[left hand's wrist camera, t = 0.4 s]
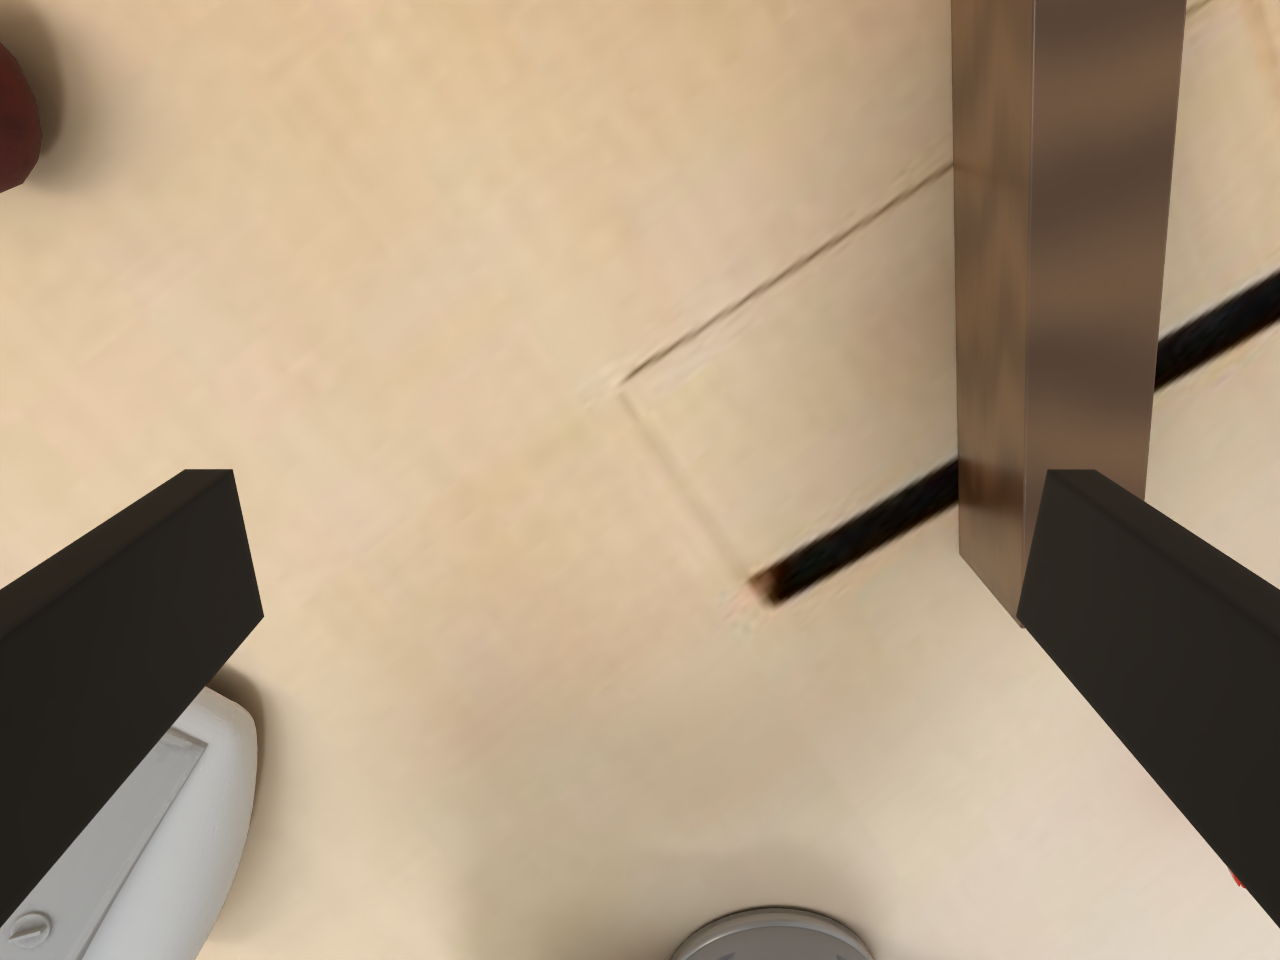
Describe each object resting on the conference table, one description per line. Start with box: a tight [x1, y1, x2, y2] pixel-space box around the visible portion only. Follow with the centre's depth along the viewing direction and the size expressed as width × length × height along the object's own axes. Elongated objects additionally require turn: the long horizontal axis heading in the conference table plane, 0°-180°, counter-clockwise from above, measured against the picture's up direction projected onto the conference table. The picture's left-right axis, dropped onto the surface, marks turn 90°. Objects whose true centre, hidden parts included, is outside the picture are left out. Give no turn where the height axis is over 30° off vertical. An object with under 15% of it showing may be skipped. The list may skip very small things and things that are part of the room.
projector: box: [0, 687, 257, 960], centre depth 42 cm, size 22×23×15 cm
